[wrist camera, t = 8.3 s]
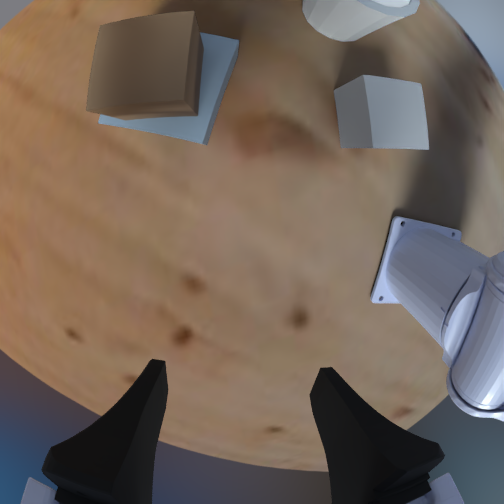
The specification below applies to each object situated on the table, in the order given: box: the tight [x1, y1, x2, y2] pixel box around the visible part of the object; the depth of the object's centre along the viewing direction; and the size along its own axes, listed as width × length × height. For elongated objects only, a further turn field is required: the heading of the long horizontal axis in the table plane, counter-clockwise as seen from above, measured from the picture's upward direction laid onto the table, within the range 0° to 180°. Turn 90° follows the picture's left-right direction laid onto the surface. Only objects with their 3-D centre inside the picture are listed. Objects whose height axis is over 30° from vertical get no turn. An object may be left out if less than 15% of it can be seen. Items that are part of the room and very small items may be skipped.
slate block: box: [98, 32, 239, 145], centre depth 14 cm, size 7×7×4 cm
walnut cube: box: [86, 11, 204, 121], centre depth 11 cm, size 4×4×5 cm
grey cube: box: [334, 75, 429, 150], centre depth 15 cm, size 4×4×5 cm
